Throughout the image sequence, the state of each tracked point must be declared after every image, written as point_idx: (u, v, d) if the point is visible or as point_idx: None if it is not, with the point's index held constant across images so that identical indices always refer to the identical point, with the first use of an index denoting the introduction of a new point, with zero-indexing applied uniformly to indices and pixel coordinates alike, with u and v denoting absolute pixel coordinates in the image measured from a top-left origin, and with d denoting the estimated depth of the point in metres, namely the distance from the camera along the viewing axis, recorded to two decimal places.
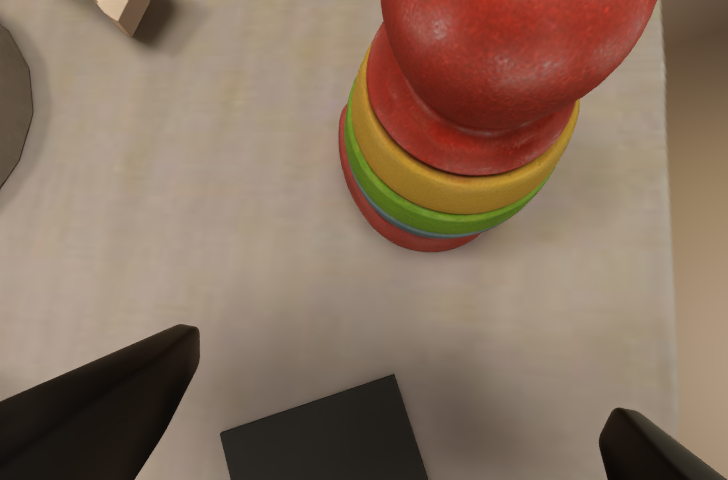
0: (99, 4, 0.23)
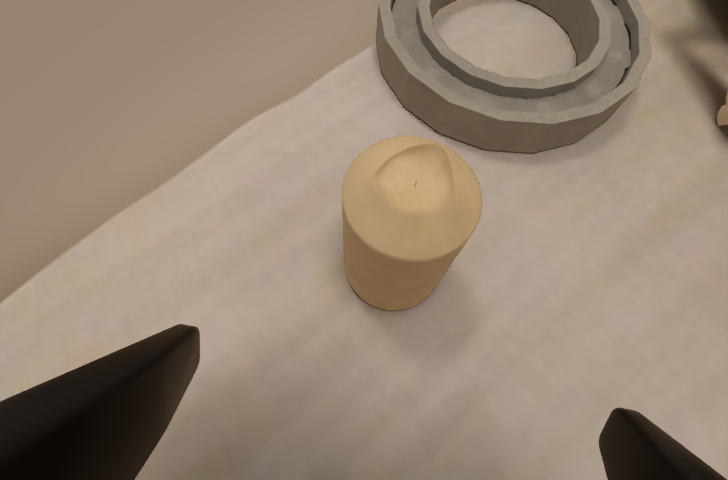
0: None
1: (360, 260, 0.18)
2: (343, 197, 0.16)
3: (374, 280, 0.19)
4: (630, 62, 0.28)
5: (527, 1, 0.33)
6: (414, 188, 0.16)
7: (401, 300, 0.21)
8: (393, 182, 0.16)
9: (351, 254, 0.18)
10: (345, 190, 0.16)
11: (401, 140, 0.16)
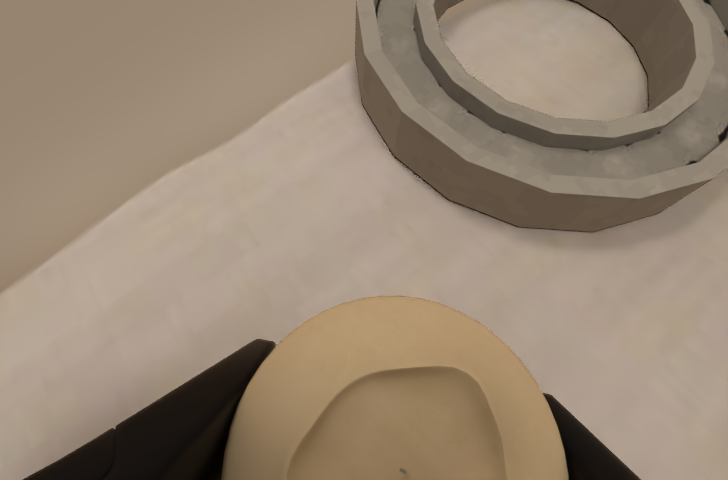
0: None
1: None
2: None
3: None
4: None
5: None
6: (401, 476, 0.06)
7: None
8: (346, 459, 0.06)
9: None
10: (229, 462, 0.06)
11: (371, 326, 0.07)
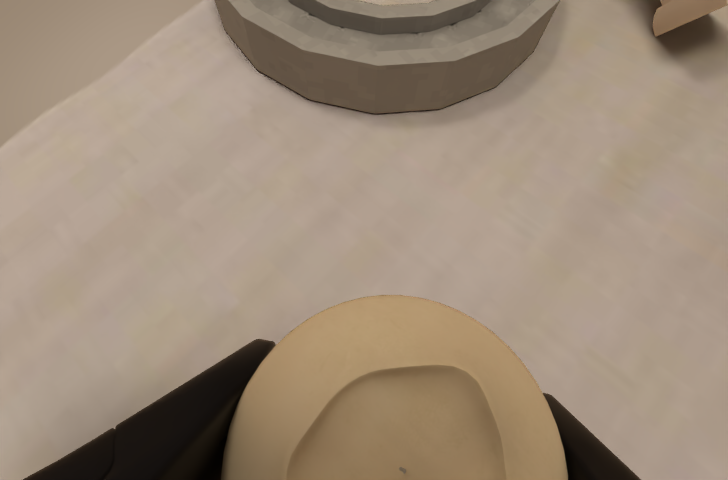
0: None
1: None
2: (223, 479, 0.06)
3: None
4: None
5: None
6: (401, 474, 0.06)
7: None
8: (345, 458, 0.06)
9: None
10: (229, 461, 0.06)
11: (371, 325, 0.07)
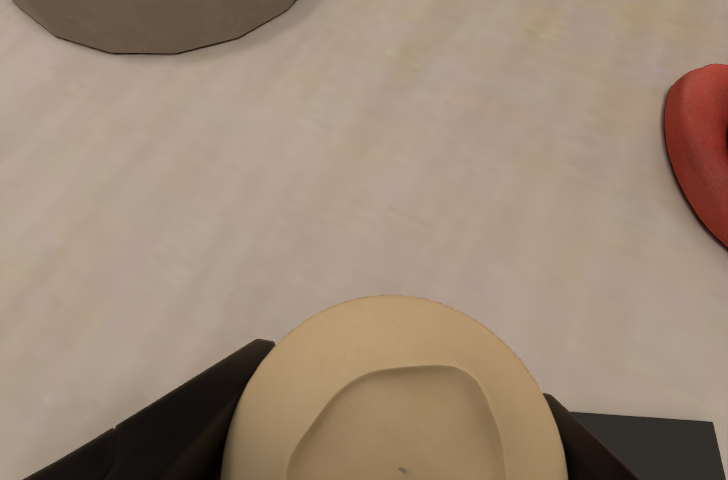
0: None
1: None
2: (223, 479, 0.06)
3: None
4: None
5: None
6: (400, 474, 0.06)
7: None
8: (344, 459, 0.06)
9: None
10: (228, 461, 0.06)
11: (370, 325, 0.07)
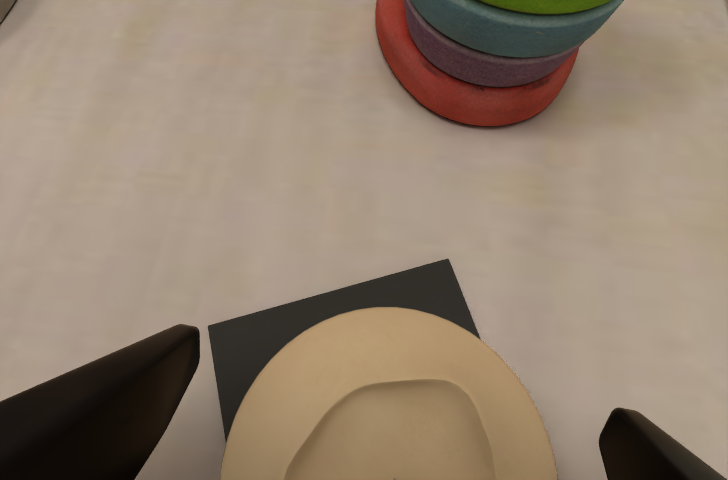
0: None
1: None
2: None
3: None
4: None
5: None
6: None
7: None
8: (340, 470, 0.06)
9: None
10: (226, 472, 0.07)
11: (365, 338, 0.07)
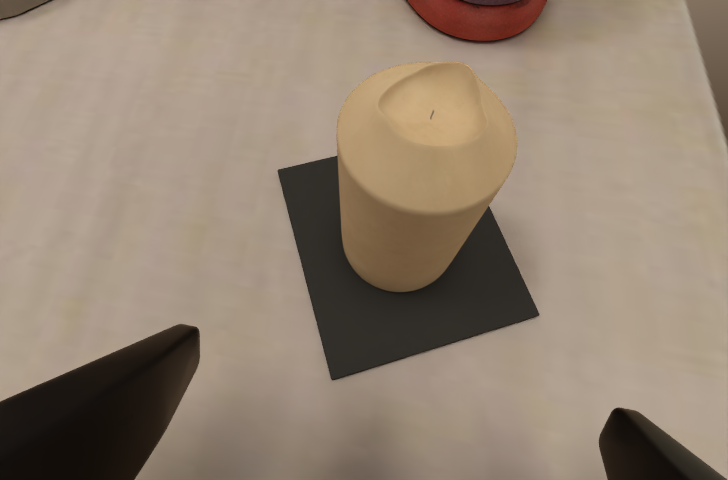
0: None
1: (360, 221, 0.14)
2: (338, 135, 0.12)
3: (378, 249, 0.15)
4: None
5: None
6: (431, 121, 0.12)
7: (410, 277, 0.17)
8: (403, 113, 0.12)
9: (349, 216, 0.15)
10: (341, 126, 0.12)
11: (412, 64, 0.13)
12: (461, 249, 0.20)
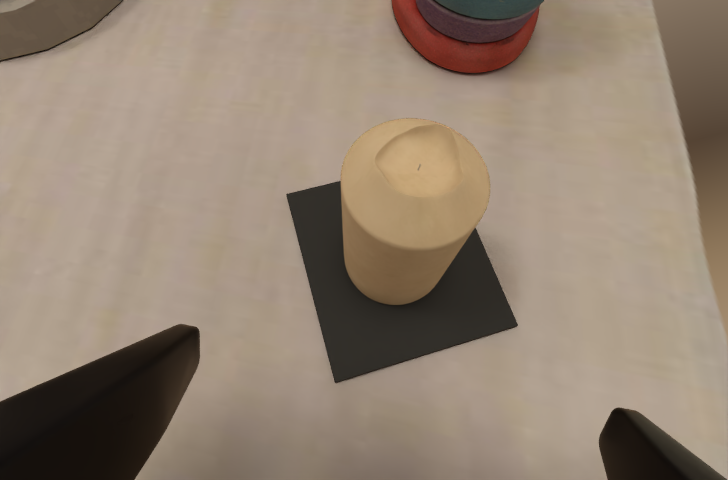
0: None
1: (360, 250, 0.17)
2: (342, 182, 0.15)
3: (375, 272, 0.18)
4: None
5: None
6: (418, 172, 0.15)
7: (403, 294, 0.20)
8: (395, 165, 0.15)
9: (351, 244, 0.17)
10: (344, 174, 0.15)
11: (404, 121, 0.15)
12: (450, 266, 0.23)
